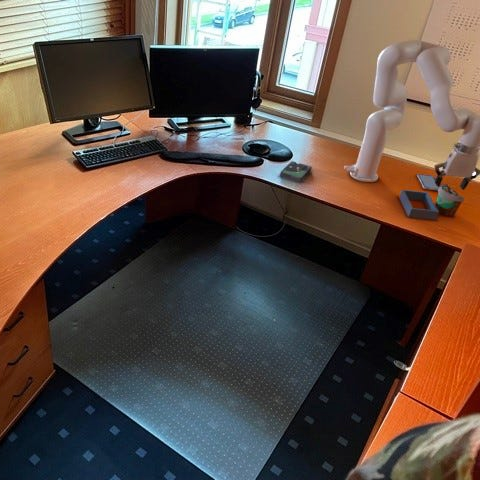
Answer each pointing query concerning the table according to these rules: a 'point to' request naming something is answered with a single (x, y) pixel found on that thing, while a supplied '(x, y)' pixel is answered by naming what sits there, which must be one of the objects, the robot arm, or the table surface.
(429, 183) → the smartphone
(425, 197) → the rectangular frame
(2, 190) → the table surface
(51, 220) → the table surface
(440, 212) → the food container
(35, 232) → the table surface
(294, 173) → the disk drive
